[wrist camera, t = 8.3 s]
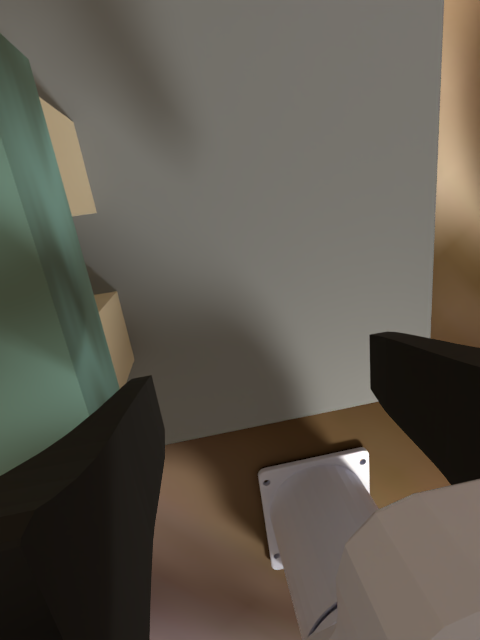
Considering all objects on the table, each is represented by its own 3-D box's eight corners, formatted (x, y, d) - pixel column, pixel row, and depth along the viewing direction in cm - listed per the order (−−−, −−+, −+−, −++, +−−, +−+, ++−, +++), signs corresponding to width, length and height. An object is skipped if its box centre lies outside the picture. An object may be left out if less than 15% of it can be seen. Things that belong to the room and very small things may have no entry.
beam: (126, 412, 16) (107, 473, 13) (37, 428, 16) (-10, 497, 12) (28, 59, 12) (-46, -10, 8) (-98, 72, 12) (-236, 6, 8)
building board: (418, 384, 24) (474, 426, 20) (30, 462, 22) (-13, 531, 17) (432, -62, 17) (529, -168, 12) (-162, -13, 14) (-334, -121, 10)
